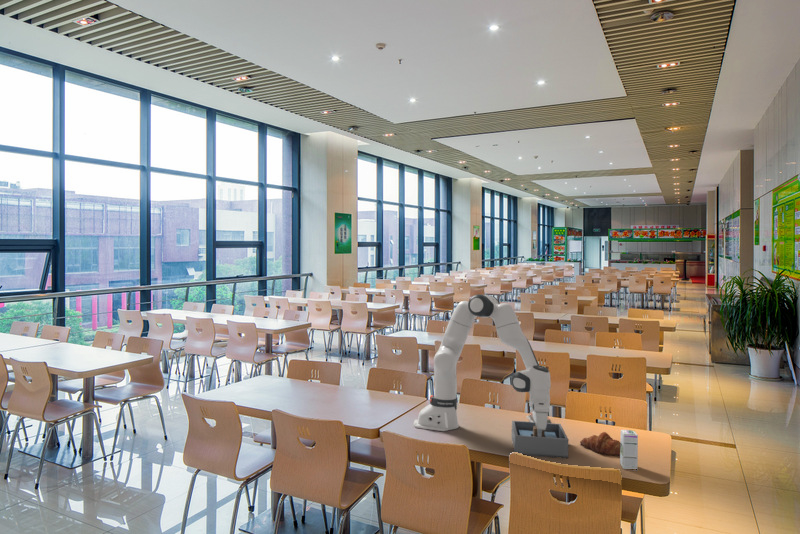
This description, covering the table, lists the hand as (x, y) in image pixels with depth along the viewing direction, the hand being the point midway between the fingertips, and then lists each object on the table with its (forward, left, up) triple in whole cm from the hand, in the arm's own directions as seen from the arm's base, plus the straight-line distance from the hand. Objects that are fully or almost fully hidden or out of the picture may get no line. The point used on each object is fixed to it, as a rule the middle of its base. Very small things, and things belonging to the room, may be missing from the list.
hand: (538, 433), depth 240 cm
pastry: (+29, +2, -6) cm, 30 cm away
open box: (0, 0, -6) cm, 6 cm away
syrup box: (+34, -16, -6) cm, 38 cm away
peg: (0, 0, -4) cm, 4 cm away
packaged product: (+5, +39, -7) cm, 40 cm away
